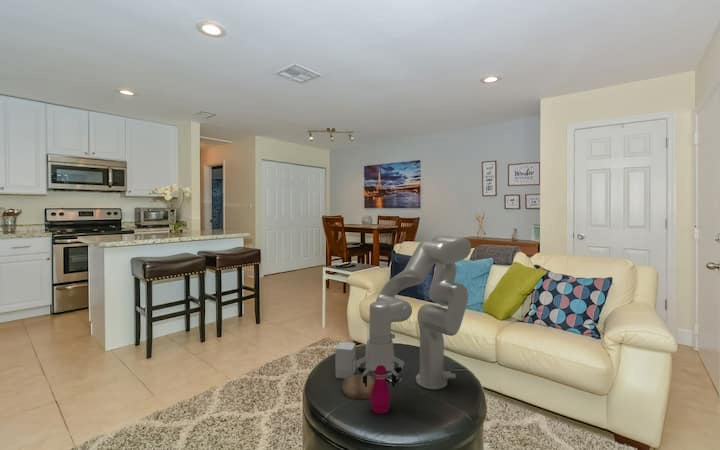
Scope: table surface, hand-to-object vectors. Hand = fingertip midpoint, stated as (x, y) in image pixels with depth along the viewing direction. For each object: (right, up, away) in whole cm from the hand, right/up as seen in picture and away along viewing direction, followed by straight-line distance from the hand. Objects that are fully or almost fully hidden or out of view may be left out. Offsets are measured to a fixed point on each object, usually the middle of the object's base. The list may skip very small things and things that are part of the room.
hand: (379, 385), depth 126 cm
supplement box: (-13, -7, +26) cm, 30 cm away
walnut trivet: (-7, -8, +14) cm, 17 cm away
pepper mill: (0, -9, +1) cm, 9 cm away
